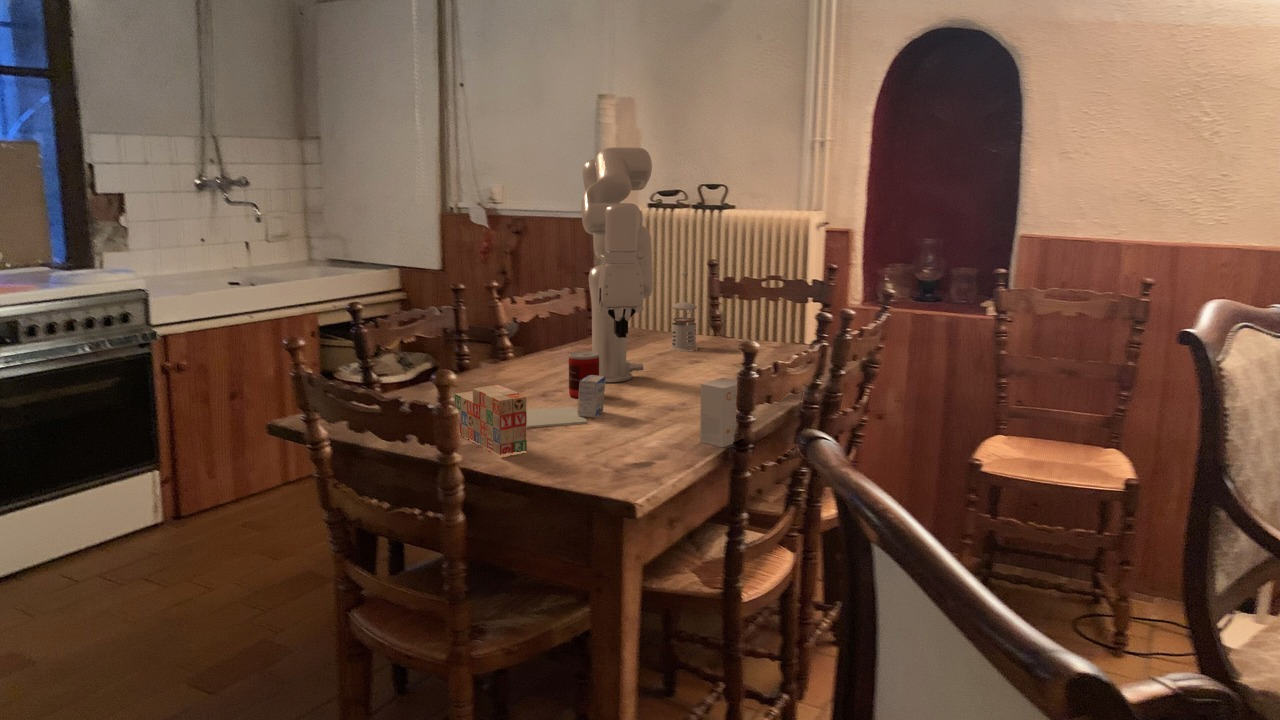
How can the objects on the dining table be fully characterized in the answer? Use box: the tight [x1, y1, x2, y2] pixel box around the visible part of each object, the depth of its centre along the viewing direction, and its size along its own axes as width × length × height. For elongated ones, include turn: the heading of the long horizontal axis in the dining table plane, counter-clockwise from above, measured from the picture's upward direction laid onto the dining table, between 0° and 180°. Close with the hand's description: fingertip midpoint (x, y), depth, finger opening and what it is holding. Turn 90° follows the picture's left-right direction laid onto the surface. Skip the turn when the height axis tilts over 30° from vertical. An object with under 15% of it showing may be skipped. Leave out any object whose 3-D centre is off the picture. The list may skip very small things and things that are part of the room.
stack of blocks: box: [454, 384, 528, 455], centre depth 199 cm, size 21×6×12 cm, turn 35°
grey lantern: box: [669, 271, 699, 352], centre depth 305 cm, size 10×12×25 cm
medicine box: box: [577, 375, 606, 419], centre depth 223 cm, size 8×4×9 cm, turn 168°
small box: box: [699, 377, 738, 448], centre depth 202 cm, size 8×6×13 cm
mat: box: [526, 406, 589, 428], centre depth 220 cm, size 18×14×1 cm
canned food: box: [568, 350, 599, 400], centre depth 242 cm, size 8×8×11 cm
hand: (621, 336), depth 222 cm, fingers closed
